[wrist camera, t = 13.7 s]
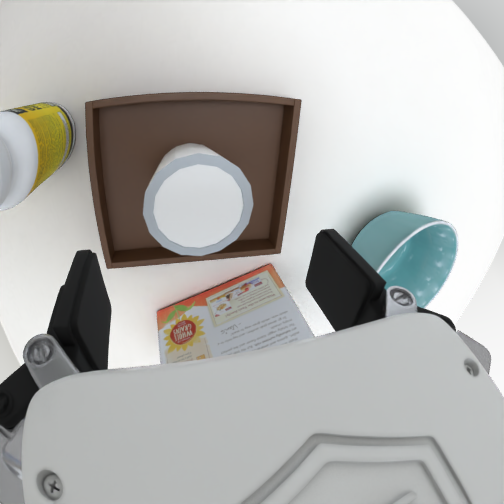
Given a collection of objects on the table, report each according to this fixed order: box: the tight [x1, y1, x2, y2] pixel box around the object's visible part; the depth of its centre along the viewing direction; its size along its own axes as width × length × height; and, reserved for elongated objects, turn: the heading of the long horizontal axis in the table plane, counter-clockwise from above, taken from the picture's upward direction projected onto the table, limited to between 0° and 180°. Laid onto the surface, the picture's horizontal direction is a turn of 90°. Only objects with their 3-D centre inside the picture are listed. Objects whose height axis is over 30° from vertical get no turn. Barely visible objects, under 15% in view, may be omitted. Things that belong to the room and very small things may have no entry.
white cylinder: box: [143, 143, 253, 256], centre depth 19 cm, size 7×7×7 cm
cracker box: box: [157, 264, 315, 364], centre depth 23 cm, size 14×6×21 cm, turn 106°
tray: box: [85, 92, 301, 269], centre depth 21 cm, size 16×14×2 cm
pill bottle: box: [0, 102, 75, 210], centre depth 12 cm, size 6×6×11 cm
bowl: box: [352, 211, 458, 308], centre depth 30 cm, size 16×16×8 cm
